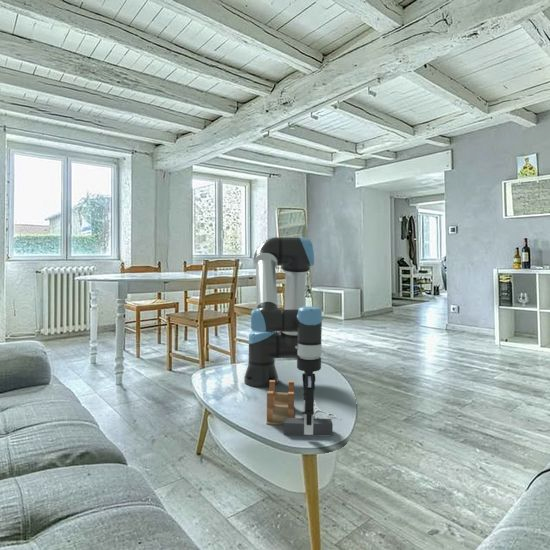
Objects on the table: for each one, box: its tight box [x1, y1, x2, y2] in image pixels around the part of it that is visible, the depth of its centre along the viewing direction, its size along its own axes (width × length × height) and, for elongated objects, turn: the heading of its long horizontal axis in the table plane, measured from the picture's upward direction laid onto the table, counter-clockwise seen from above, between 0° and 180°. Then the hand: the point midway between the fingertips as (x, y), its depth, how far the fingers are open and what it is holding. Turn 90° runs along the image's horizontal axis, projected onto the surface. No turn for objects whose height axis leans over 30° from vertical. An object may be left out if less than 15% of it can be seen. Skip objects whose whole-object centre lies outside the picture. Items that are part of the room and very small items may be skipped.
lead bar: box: [283, 417, 334, 436], centre depth 121 cm, size 15×4×4 cm, turn 89°
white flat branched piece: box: [313, 399, 341, 420], centre depth 140 cm, size 11×1×20 cm
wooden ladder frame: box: [265, 380, 295, 426], centre depth 134 cm, size 16×9×10 cm, turn 177°
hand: (308, 427), depth 121 cm, fingers open, 9 cm apart
